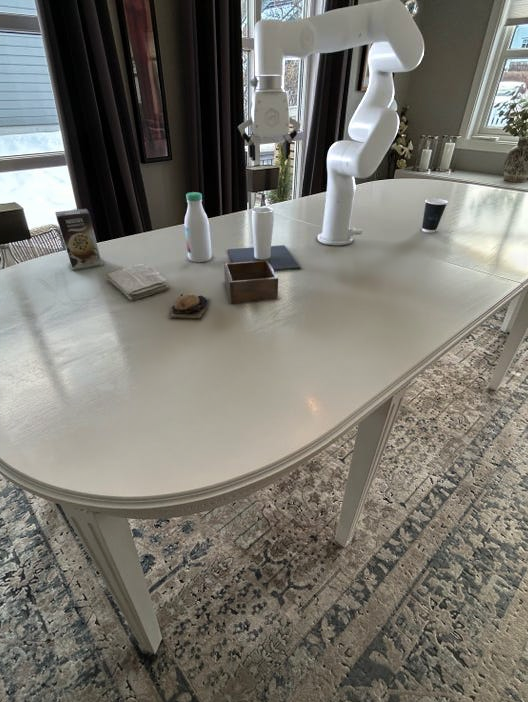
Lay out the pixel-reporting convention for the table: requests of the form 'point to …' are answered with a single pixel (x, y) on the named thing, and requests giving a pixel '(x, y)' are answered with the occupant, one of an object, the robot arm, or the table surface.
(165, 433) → the table surface
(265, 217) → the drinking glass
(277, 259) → the mat
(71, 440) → the table surface
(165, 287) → the washcloth
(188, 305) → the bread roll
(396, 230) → the table surface
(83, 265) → the cookie box
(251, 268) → the box
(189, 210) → the milk bottle
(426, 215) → the dixie cup
